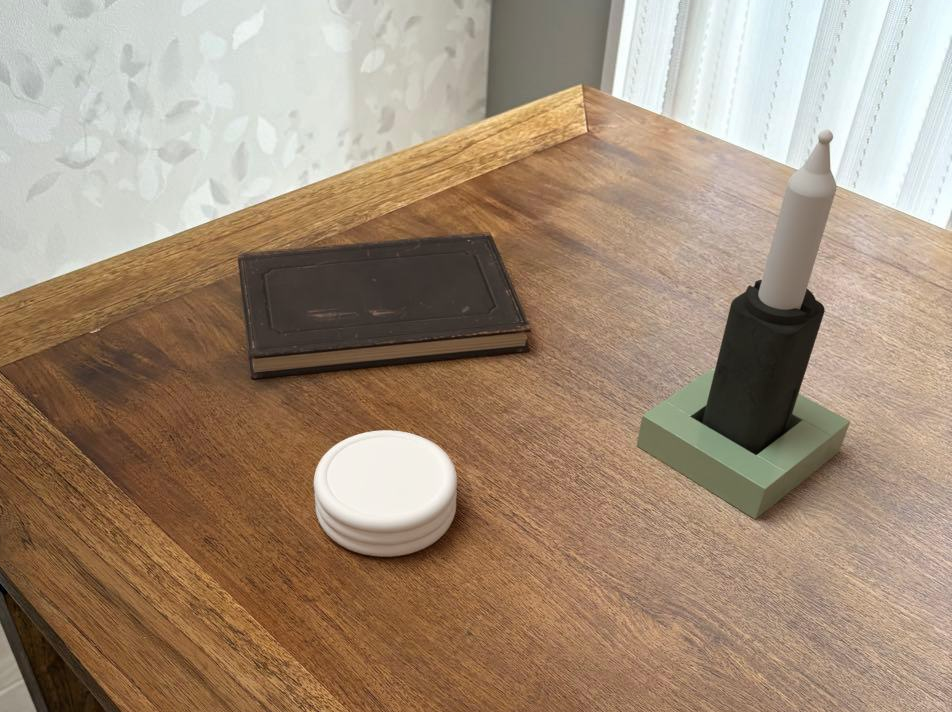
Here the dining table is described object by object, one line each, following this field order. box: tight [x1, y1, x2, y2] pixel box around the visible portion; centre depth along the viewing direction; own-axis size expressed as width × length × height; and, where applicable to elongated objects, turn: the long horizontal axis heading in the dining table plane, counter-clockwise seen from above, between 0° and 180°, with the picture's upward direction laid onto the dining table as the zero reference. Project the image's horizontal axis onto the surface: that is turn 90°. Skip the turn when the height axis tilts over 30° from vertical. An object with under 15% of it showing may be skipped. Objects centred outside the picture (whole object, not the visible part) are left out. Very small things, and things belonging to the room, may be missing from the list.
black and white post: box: [702, 129, 837, 455], centre depth 75 cm, size 5×5×25 cm
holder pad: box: [636, 365, 851, 520], centre depth 83 cm, size 11×11×3 cm
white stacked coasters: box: [312, 429, 458, 558], centre depth 78 cm, size 10×10×4 cm
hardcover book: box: [236, 231, 532, 380], centre depth 96 cm, size 16×23×2 cm
